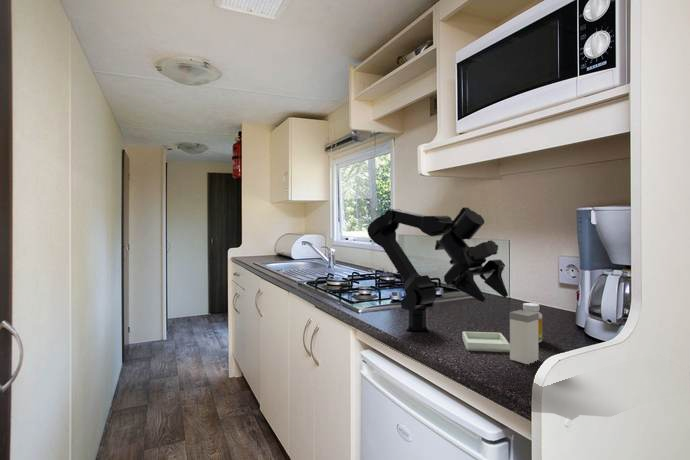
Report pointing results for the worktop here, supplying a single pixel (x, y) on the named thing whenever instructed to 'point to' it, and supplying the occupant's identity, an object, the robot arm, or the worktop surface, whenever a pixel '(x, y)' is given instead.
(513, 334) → the block
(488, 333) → the tray
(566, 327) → the worktop surface
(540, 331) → the supplement bottle
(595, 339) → the worktop surface
